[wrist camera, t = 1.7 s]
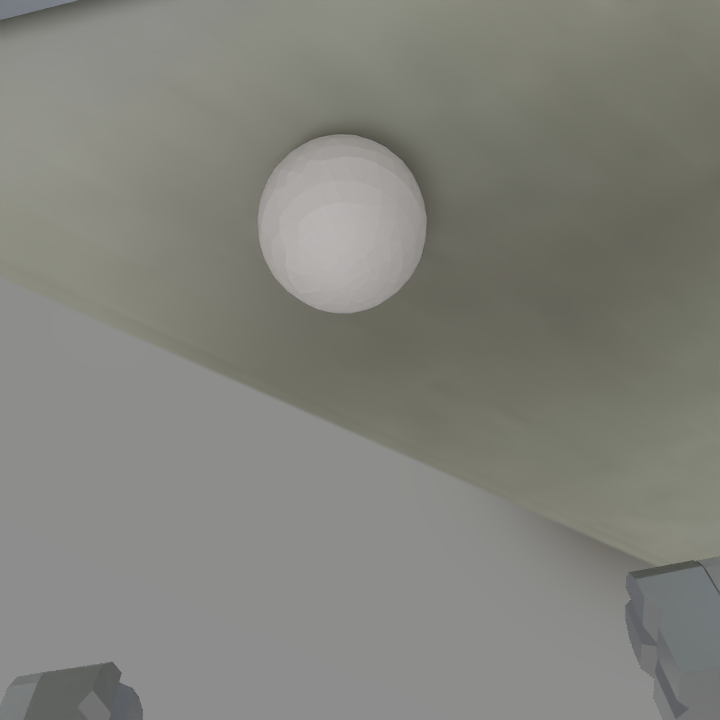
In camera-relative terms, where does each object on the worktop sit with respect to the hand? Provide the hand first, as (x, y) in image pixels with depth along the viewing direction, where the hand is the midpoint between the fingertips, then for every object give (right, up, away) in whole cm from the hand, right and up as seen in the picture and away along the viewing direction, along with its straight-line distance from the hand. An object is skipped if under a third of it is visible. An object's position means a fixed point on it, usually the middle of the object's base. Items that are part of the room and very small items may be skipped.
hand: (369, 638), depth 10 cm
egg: (-1, +12, +18) cm, 21 cm away
